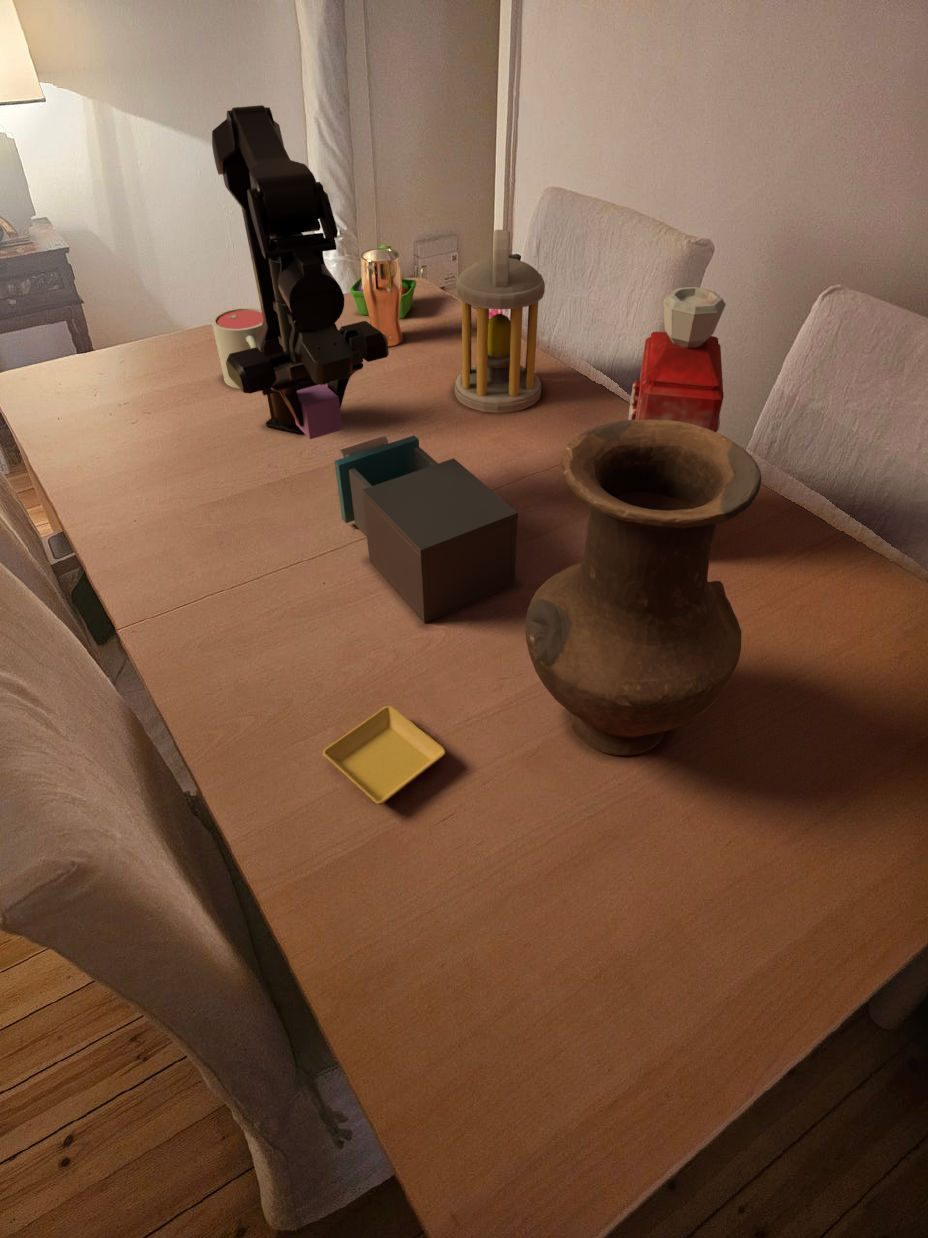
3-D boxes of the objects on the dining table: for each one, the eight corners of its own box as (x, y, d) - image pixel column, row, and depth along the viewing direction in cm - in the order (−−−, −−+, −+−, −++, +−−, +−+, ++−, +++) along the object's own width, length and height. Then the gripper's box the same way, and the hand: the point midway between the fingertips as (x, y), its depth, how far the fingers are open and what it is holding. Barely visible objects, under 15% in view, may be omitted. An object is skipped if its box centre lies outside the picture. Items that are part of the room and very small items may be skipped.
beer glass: (359, 343, 149) (351, 257, 138) (380, 329, 153) (373, 245, 143) (392, 351, 146) (386, 264, 136) (412, 336, 151) (408, 251, 141)
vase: (717, 670, 88) (790, 419, 68) (706, 819, 74) (794, 561, 54) (541, 637, 92) (561, 391, 72) (500, 773, 78) (510, 516, 58)
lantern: (456, 371, 140) (454, 214, 123) (539, 372, 140) (549, 215, 123) (452, 412, 130) (449, 247, 113) (542, 413, 129) (553, 248, 112)
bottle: (692, 564, 101) (748, 327, 81) (609, 554, 103) (643, 319, 83) (692, 499, 112) (742, 274, 91) (616, 490, 113) (649, 268, 93)
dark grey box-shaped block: (369, 561, 102) (361, 489, 95) (455, 528, 107) (453, 457, 100) (424, 623, 94) (420, 550, 87) (514, 585, 99) (518, 512, 92)
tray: (328, 503, 110) (320, 446, 104) (402, 478, 114) (398, 421, 108) (387, 569, 100) (382, 510, 94) (466, 539, 104) (466, 480, 98)
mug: (218, 370, 141) (206, 313, 134) (271, 360, 144) (261, 303, 137) (237, 405, 132) (225, 346, 125) (293, 393, 135) (284, 334, 128)
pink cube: (310, 439, 102) (305, 406, 99) (295, 424, 105) (290, 391, 102) (342, 429, 104) (339, 397, 101) (327, 415, 107) (323, 382, 104)
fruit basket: (350, 316, 157) (344, 255, 150) (365, 299, 164) (360, 239, 156) (407, 322, 155) (404, 260, 148) (420, 304, 162) (418, 244, 154)
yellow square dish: (322, 764, 79) (319, 751, 78) (390, 716, 84) (388, 702, 82) (380, 819, 75) (378, 805, 73) (448, 765, 79) (448, 751, 78)
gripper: (247, 339, 85) (272, 470, 95) (406, 301, 92) (413, 426, 102) (211, 304, 92) (239, 429, 102) (362, 271, 99) (372, 391, 109)
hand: (318, 420), depth 104 cm, fingers closed on pink cube, 4 cm apart
